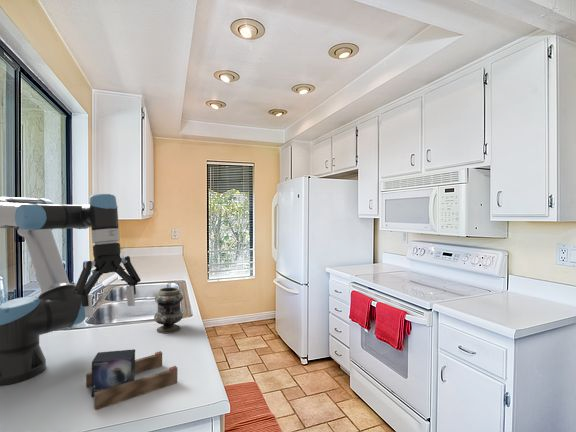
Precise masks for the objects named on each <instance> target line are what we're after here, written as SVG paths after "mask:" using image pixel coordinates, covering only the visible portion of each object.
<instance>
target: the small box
mask: <svg viewBox="0 0 576 432" xmlns="http://www.w3.org/2000/svg"><path fill="white" fill-rule="evenodd" d="M135 360H136V349H133V348H132V349H125V350H124V349H123V350H112V351H110V350H109V351H102V352H101V351H100V352H99V351H98V352H97V353H96V354H95V356H94V358H93V359H92V361H91V371H92V387H91V398H94V392H97V391H101V390H104V389H107V388H110V387H114V386H117V385H120V384H124V383H127V382H130V381H134V380H136V377H135V376H136V374H135Z"/></svg>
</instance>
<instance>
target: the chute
mask: <svg viewBox="0 0 576 432" xmlns="http://www.w3.org/2000/svg"><path fill="white" fill-rule="evenodd" d="M160 367H163V352H162V351H160V350H159V351H157V352H154V354H151V355H148V356H144V357H141V358H135V375H136V374H140V373H143V372H147V371H150V370H155V369H158V368H160ZM177 383H178V367H177V366H176V365H173V366H170V367H169V368H168V369H167V370H163V371H159V372H157V373H154V374H151V375H147V376H145V377H139V378H137V379H135V380H134V381H130V382H127V383H124V384H120V385H117V386H114V387H110V388H107V389H104V390H101V391H97V392H94V397H93V400H94V403H93V405H94V406H93V407H94V410H95V411H96V410H99V409H103V408H106V407H108V406H111V405H113V404H117V403H120V402H124V401H127V400H129V399H132V398H135V397H138V396H142V395H143V394H147V393H149V392H153V391H155V390H160V389H162V388H165V387H168V386H171V385H173V384H174V385H175V384H177ZM85 387H86V389H89V388H92V370H91V371H88V372H86V373H85Z"/></svg>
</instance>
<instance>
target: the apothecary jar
mask: <svg viewBox="0 0 576 432" xmlns="http://www.w3.org/2000/svg"><path fill="white" fill-rule="evenodd" d="M183 300H184V294H183V293H181V292H180V288H179V287H177V286H176V287H175V286H173V287H172V286H169V287H168V286H167V287H162V288H160V289H159V290H158V294H156V295H155V297H154V302H155V303H157V309H156V310H157V312H156V313H155V314H154V316H153V320H154V321H155V322H156V323H157V324H159V325H161V326H158V327H157V329H156V332H157V333H160V334H170V333H171V332H172V333H175V331H176V332H178V331H179V330H180V329H181V327H180V325H178V324H177V323H178V322H180V321H181V320H182V319H183V316H184V313H183V312H182V311H181V302H182V301H183ZM177 330H178V331H177Z"/></svg>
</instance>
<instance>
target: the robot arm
mask: <svg viewBox="0 0 576 432" xmlns="http://www.w3.org/2000/svg"><path fill="white" fill-rule="evenodd" d="M88 199H89V200H88V204H54V202H53V201H51V200H50V199H48V198H40V197H13V196H12V197H11V196H10V197H9V196H0V229H16V231H17V234H18V235H19V236H20V237H23V238H24V239H25V244H26V246H27V250H28V252H29V256H30V259H31V262H32V265H33V269H34V272H35V276H36V279H37V282H38V286H39V289H40V293H39V294H38V296H34V295H33V296H31V295H29V296H25V297H23V296H22V297H17V298H14V299H10V300H6V301H4V302H2V303H0V386H6V385H11V384H16V383H19V382H23V381H26V380H29V379H30V378H33V377H36V376H38V375H39V374H41V373H42V372H43V371H44V370H45V369H46V368H47V361H46V360H47V359H46V356H45V355H44V353H43V351H42V348H41V346H40V336H41V335H44V334H49V333H53V332H57V331H59V330H63V329H67V328H72V327H73V326H76V325H79V324H81V323H84V321H85V320H86V319H87V318H94V309H93V295H92V294H90V293H91V291H92V290H93V288H94V287H95V285H96V283H98V280H99V279H100V278H101V276H103V275H104V274H110V273H116V274H117V275H118V276H119V277H120V278H121V279H122V280H123V281H124V283H126V284H127V285H126V286H125V289H126V299H127V300H126V301H127V307H134V306H136V301H135V300H136V299H135V295H136V294H137V290H136V286H137V285H138V284H139V283H140V282H141V278H140V276H139V275H138V273H137V271H136V269H135V268H134V267H135V266H133V264H132V262H131V257H130V256H129V255H125V256H122V257H121V252H122V251H121V243H119V242H120V230H119V215H118V214H119V213H118V208H119V207H118V205H117V198H116V196H115V195H114V194H110V193H97V194H96V193H95V194H92V195H90V196H89V198H88ZM88 228H89V229H90V228H91V239H92V240H91V241H92V242H91V243H92V244H94V245H92V255H93V259H94V260H93V261H92V260H84V261H83V262H82V271H81V273H80V274H79V277H78V278H77V279H78V280H77V282H76V284H73V283H71V282H70V281H69V277H68V275H67V271H66V270H65V265H64V264H63V260H62V258H61V254H60V251H59V249H58V245H57V243H56V240H55V237H54V233H53V230H56V229H57V230H58V229H60V230H62V229H63V230H65V229H66V230H67V229H77V230H82V229H84V230H86V229H88ZM121 264H123V266H124V268H123V267H122V266H121ZM94 267H95V269H94V270H93V269H92V268H94ZM92 270H93V272H92ZM91 272H92V275H91V274H90V273H91ZM90 275H91V276H90ZM89 277H90V278H89Z"/></svg>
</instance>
